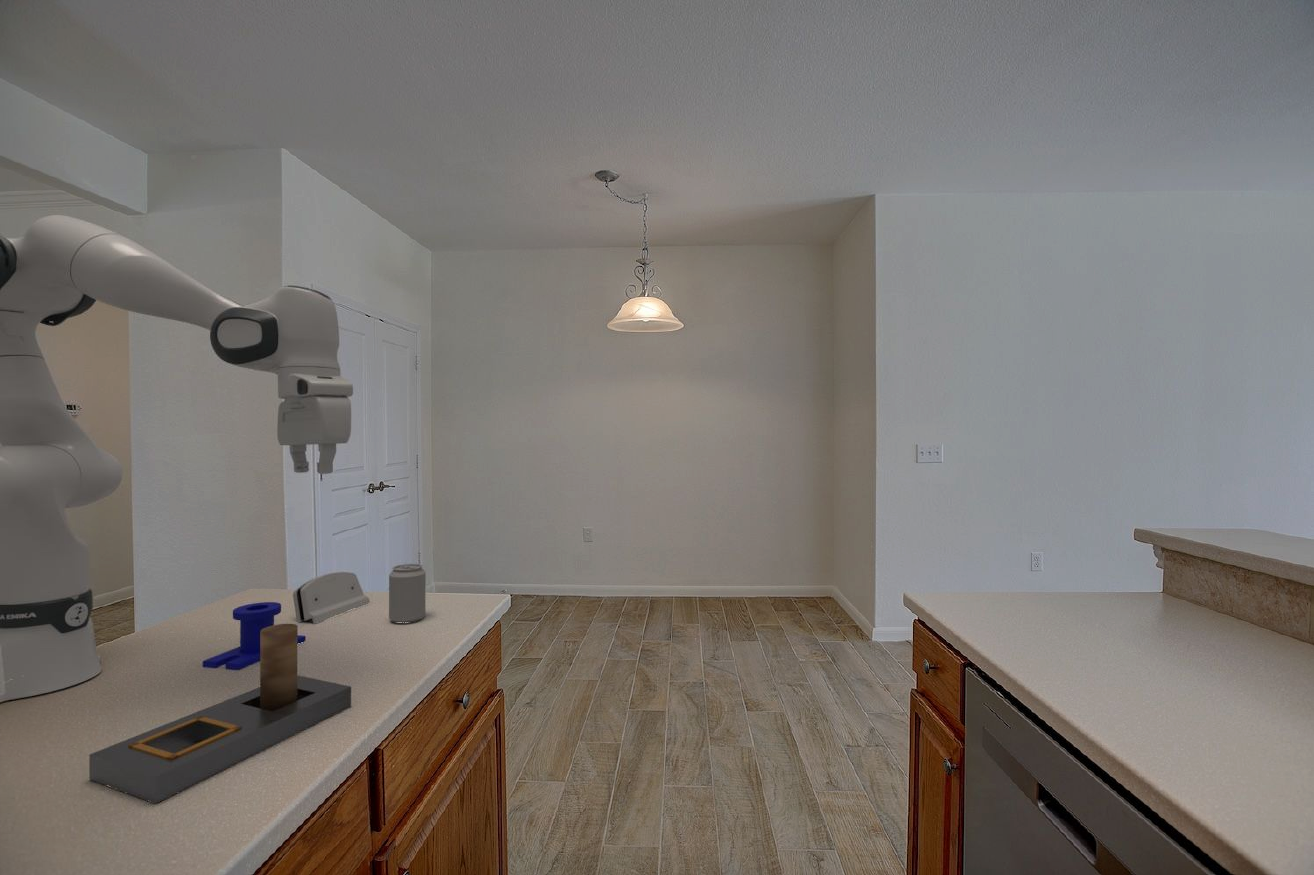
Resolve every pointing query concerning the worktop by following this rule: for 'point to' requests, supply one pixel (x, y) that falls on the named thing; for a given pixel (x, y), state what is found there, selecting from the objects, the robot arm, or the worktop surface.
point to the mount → (248, 636)
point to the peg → (278, 666)
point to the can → (407, 593)
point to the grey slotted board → (211, 740)
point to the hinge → (328, 596)
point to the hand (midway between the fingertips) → (312, 473)
